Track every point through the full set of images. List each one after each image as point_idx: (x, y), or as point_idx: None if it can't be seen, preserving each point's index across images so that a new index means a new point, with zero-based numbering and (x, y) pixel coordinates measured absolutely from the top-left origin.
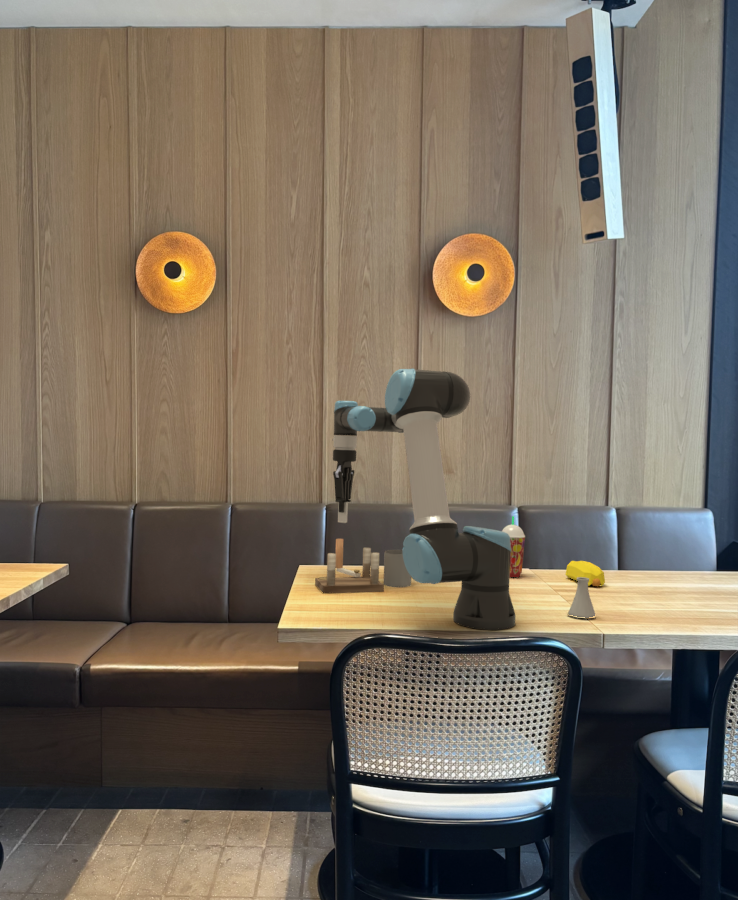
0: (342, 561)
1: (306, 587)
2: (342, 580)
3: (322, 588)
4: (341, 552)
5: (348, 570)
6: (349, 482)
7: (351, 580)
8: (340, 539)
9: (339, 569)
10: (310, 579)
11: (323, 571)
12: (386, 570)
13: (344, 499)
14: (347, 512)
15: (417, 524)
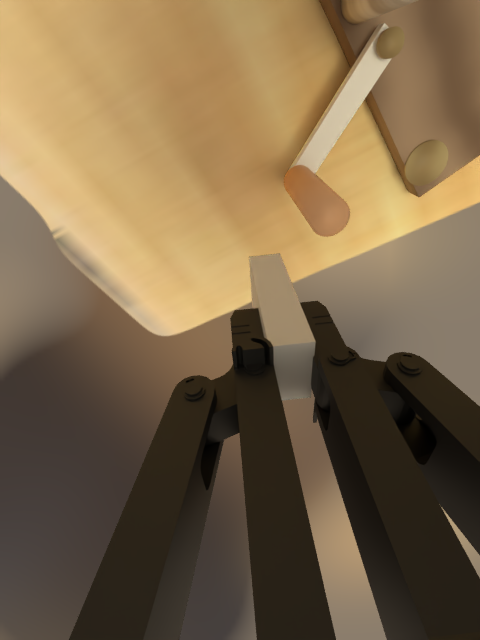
0: (306, 170)
1: (453, 193)
2: (445, 80)
3: None
4: (323, 182)
5: (337, 115)
6: (153, 635)
7: (438, 40)
8: (338, 209)
9: (319, 166)
10: (339, 239)
11: (212, 265)
12: None
13: (362, 366)
14: (259, 291)
15: None
